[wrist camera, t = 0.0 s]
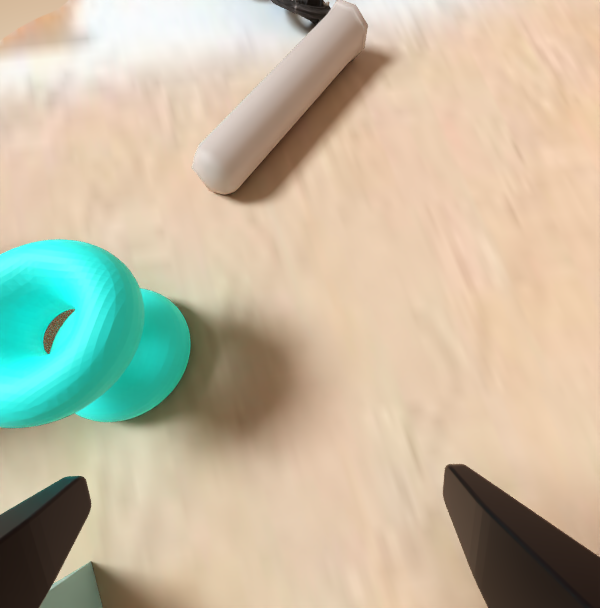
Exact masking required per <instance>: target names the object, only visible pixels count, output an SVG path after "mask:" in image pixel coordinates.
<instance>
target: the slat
mask: <svg viewBox="0 0 600 608" xmlns="http://www.w3.org/2000/svg"><path fill="white" fill-rule="evenodd" d="M39 608H103V607H102V603H101V599H100V595H99V591H98V587H97V583H96V579H95V575H94V571H93V567H92V563H91V562H89V563H87V564H86V565H84V566H82V567H81V568H79V569H77V570H76V571H74V572H73V573H71V574H69V575H68V576H66V577H64V578H63V579H61V580H59V581H58V582H56V583H54V584H53V585H52V586H51V588H50V590H49V592H48V594H47V595H46V597H45V599H44V600H43V602H42V604H41V606H40V607H39Z"/></svg>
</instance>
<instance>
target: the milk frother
mask: <svg viewBox="0 0 600 608" xmlns="http://www.w3.org/2000/svg"><path fill="white" fill-rule="evenodd" d="M271 1H272V2H273V3H275V4H276V5H278V6H280V7H282V8H285V9H287V10H289V11H292V12H293V13H296V14H299V15H301V16H302V17H304V18H306V19H308V20H310V21H311V22H313V23H315V24H318V23H319V19H323V18H324V17H325V16H326V15H327V14H328V12H329V11H330V10H331V8H330V7H329V2H326V3H325V2H324V1H323V0H293V1H291V0H271Z"/></svg>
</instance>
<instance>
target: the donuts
mask: <svg viewBox="0 0 600 608" xmlns="http://www.w3.org/2000/svg"><path fill="white" fill-rule="evenodd" d="M70 309H75V311H74V312H73V313H72V314H71V315H70V316H69V317H68V318H67V319H66V321H65V322H64V323H63V325H62V326H61V327H60V329H59V331H58V333H57V334H56V336H55V339H54V341H53V344H52V347H51V350H50V354H47V352H46V351H45V349H44V345H43V338H44V334H45V331H46V329H47V327H48V325H49V324H50V323H51V321H52V320H53V319H54V318H56V317H57V316H58V315H59V314H61V313H63V312H65V311H67V310H70ZM190 348H191V340H190V332H189V328H188V325H187V323H186V320H185V318H184V316H183V314H182V313H181V311H180V310H179V309H178V308H177V306H176V305H175V304H173V303H172V302H171V301H170V300H169V299H167V298H166V297H164V296H162V295H161V294H158V293H156V292H153V291H150V290H147V289H141V288H139V285H138V283H137V281H136V279H135V278H134V276H133V275H132V273H131V272H130V270H129V269H128V268H127V267H126V266H125V264H124V263H123V262H121V261H120V260H119V259H118V258H116V257H115V256H114V255H112V254H111V253H109V252H108V251H106V250H104V249H102V248H100V247H97V246H94V245H92V244H89V243H85V242H81V241H75V240H62V239H56V240H44V241H38V242H33V243H29V244H25V245H22V246H20V247H17V248H14V249H11V250H9V251H7V252H5V253H2V254H1V255H0V427H1V428H26V427H34V426H39V425H43V424H47V423H51V422H54V421H57V420H60V419H63V418H65V417H67V416H70V415H72V414H74V413H75V414H77V415H79V416H81V417H83V418H86V419H89V420H93V421H98V422H117V421H123V420H128V419H131V418H134V417H137V416H139V415H142V414H144V413H146V412H147V411H149V410H151V409H152V408H154V407H155V406H157V405H158V404H160V403H161V402H162V401H163V400H164V399H165V398H166V397H167V396H168V395H169V394H170V393H171V392H172V391H173V390H174V388H175V387H176V386H177V384H178V383H179V381H180V380H181V378H182V376H183V374H184V372H185V369H186V367H187V364H188V360H189V356H190Z"/></svg>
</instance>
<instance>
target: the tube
mask: <svg viewBox="0 0 600 608" xmlns="http://www.w3.org/2000/svg"><path fill="white" fill-rule="evenodd" d="M367 28H368V25H367V23H366V21H365V20H364V18H363V16H362V14H361V13H360V11H359V9H358V8H357V6H356V5H354V4H351V3H349V2H346V1H343V0H337V1H336V2H335V4H334V5H333V7H332V8H331V10H330V11H329V12H328V14H327V15H326V16H325V17H324V18H323V19H322V20H321V21H320V22H319V23H318V24H317V25H316V26H315V27H314V28H313V29H312V30H311V31H310V32H309V33H308V34H307V35H306V36H305V37H304V38H303V39H302V40H301V41H300V42H299V43H298V44H297V45H296V46H295V47H294V49H293V50H292V51H291V52H290V53H289V54H288V55H287V56H286V57H285V58H284V59H283V60H282V61H281V62H280V63H279V64H278V65H277V66H276V67H275V68H274V69H273V70H272V71H271V72H270V73H269V74H268V75H267V76H266V77H265V78H264V79H263V80H262V81H261V82H260V83H259V84H258V85H257V86H256V87H255V88H254V89H253V90H252V91H251V92H250V93H249V94H248V95H247V96H246V97H245V98H244V99H243V100H242V101H241V102H240V103H239V105H238V106H237V107H236V108H235V109H234V110H233V111H232V112H231V113H230V114H229V115H228V116H227V117H226V118H225V119H224V120H223V121H222V122H221V123H220V124H219V125H218V126H217V127H216V128H215V129H214V130H213V131H212V132H211V133H210V134H209V135H208V136H207V137H206V138H205V139H204V140H203V141H202V142H201V143H200V144H199V146H198V148H197V151H196V153H195V156H194V160H193V164H192V169H193V170H194V171H195V173H196V174H197V175H198V176H199V178H200V179H201V180H202V182H203V183H204V184H205V186H206V187H207V188H208V189H209V191H212V192H216V193H219V194H223V195H224V194H230V193H234V192H235V191H236V190H237V189H238V188H239V187H240V186H241V185H242V184H243V182H244V181H245V180H246V179H247V178H248V177H249V176H250V174H251V173H252V172H253V171H254V170H255V169H256V168H257V166H258V165H259V164H260V163H261V162H262V161H263V160H264V158H265V157H266V156H267V155H268V154H269V153H270V152H271V150H272V149H273V148H274V147H275V146H276V145H277V144H278V142H279V141H280V140H281V139H282V138H283V137H284V136H285V134H286V133H287V132H288V131H289V130H290V129H291V128H292V126H293V125H294V124H295V123H296V122H297V121H298V120H299V119H300V117H301V116H302V115H303V114H304V113H305V112H306V111H307V109H308V108H309V107H310V106H311V105H312V104H313V103H314V101H315V100H316V99H317V98H318V97H319V96H320V95H321V93H322V92H323V91H324V90H325V89H326V88H327V87H328V85H329V84H330V83H331V82H332V81H333V80H334V79H335V77H336V76H337V75H338V74H339V73H340V72H341V71H342V69H343V68H344V67H345V66H346V65H347V64H348V63H349V61H352V60H353V59H354V58H355V57H356V56H357V55H358V54H359V53H360V52H361V51H362V50H363V49H364V46H365V40H366V34H367Z"/></svg>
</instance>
